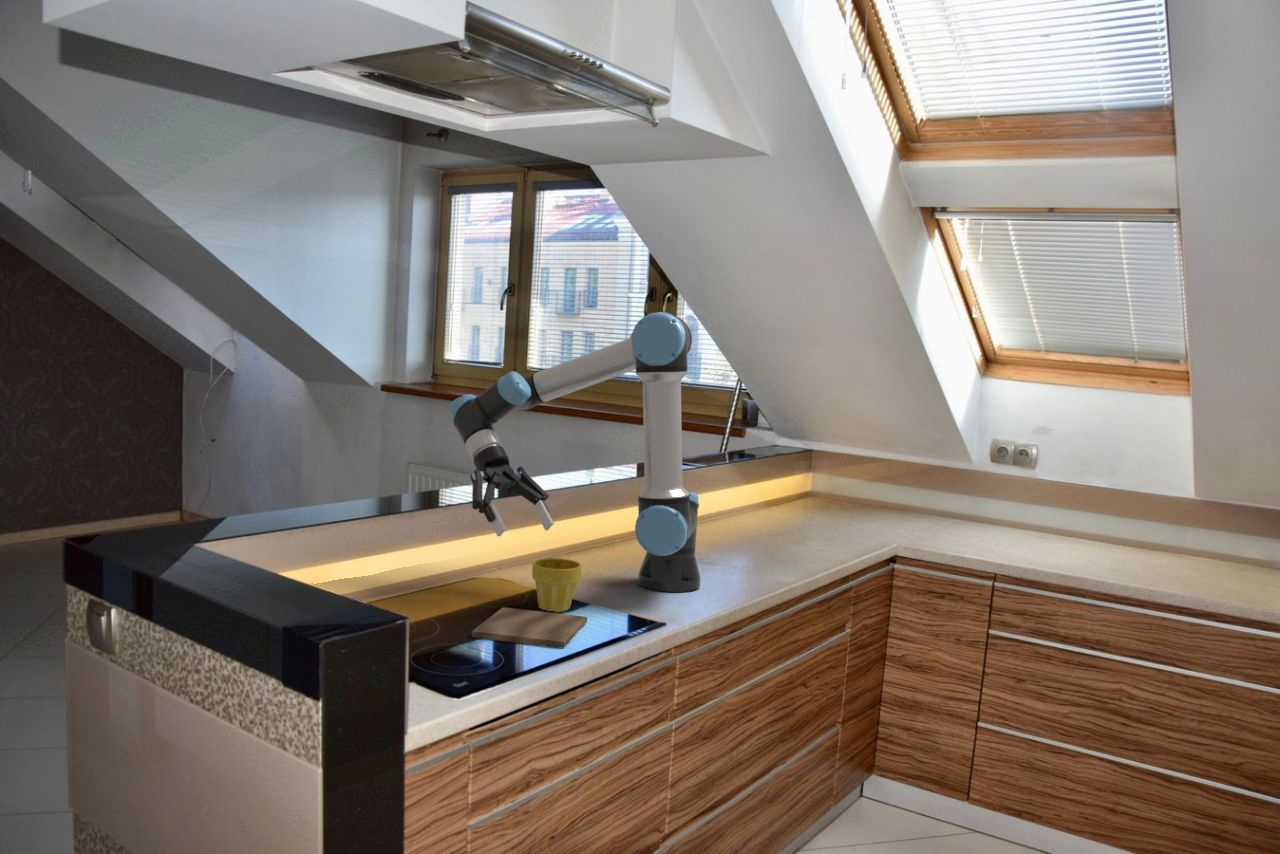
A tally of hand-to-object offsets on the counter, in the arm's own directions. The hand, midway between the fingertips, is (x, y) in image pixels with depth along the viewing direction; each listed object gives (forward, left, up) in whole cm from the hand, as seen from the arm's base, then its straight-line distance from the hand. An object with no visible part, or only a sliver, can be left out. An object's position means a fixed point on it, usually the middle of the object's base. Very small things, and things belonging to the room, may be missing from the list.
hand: (526, 530), depth 210 cm
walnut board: (-9, +23, -15) cm, 29 cm away
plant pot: (-9, +6, -15) cm, 19 cm away
